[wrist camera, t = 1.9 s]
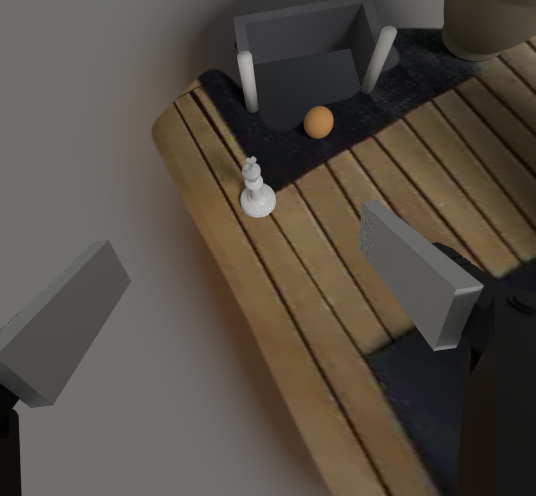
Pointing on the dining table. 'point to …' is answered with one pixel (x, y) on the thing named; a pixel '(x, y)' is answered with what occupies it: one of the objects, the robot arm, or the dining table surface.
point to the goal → (313, 38)
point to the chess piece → (256, 191)
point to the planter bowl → (486, 26)
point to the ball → (318, 122)
